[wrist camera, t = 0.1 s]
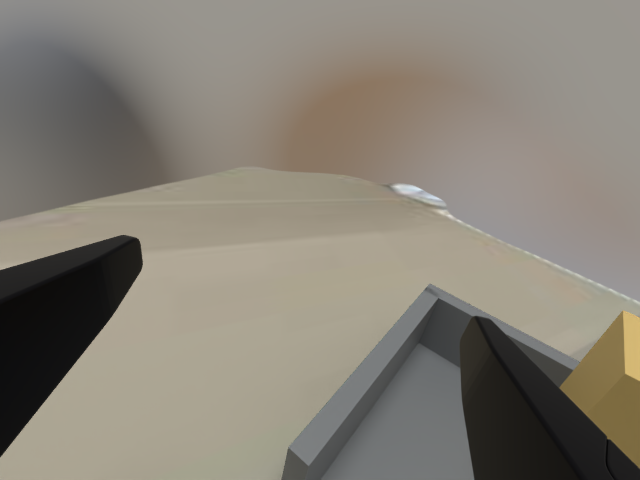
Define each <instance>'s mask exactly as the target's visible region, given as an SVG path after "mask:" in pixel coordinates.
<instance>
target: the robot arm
mask: <svg viewBox="0 0 640 480" xmlns="http://www.w3.org/2000/svg"><path fill="white" fill-rule="evenodd" d="M142 265H143V261H142V252H141V244H140V241H139V239H137V238H135V237H131V236H127V235H120V236H117V237H113V238H110V239H106V240H103V241H100V242H96V243H93V244H89V245H86V246H82V247H79V248H75V249H72V250H68V251H65V252H62V253H58V254H55V255H51V256H48V257H44V258H41V259H37V260H34V261H30V262H27V263H23V264H20V265H17V266H13V267H10V268H6V269H3V270H0V457H1V456H2V455H3V453H4V452H5V451H6V450H7V448H8V447H9V446H10V445H11V443H12V442H13V441H14V439H15V438H16V437H17V436H18V434H19V433H20V432H21V431H22V429H23V428H24V427H25V426H26V424H27V423H28V422H29V421H30V419H31V418H32V417H33V416H34V414H35V413H36V412H37V411H38V409H39V408H40V407H41V405H42V404H43V403H44V402H45V400H46V399H47V398H48V397H49V395H50V394H51V393H52V392H53V390H54V389H55V388H56V387H57V385H58V384H59V383H60V382H61V380H62V379H63V378H64V376H65V375H66V374H67V373H68V371H69V370H70V369H71V368H72V366H73V365H74V364H75V363H76V361H77V360H78V359H79V358H80V356H81V355H82V354H83V353H84V351H85V350H86V349H87V348H88V346H89V345H90V344H91V342H92V341H93V340H94V339H95V337H96V336H97V335H98V334H99V332H100V331H101V330H102V329H103V327H104V326H105V325H106V324H107V322H108V321H109V320H110V318H111V317H112V316H113V314H114V313H115V311H116V310H117V308H118V307H119V305H120V303H121V302H122V300H123V299H124V297H125V295H126V294H127V292H128V291H129V289H130V287H131V286H132V284H133V283H134V281H135V280H136V278H137V276H138V275H139V273H140V271H141V269H142ZM459 350H460V374H461V395H462V405H463V412H464V419H465V425H466V431H467V437H468V444H469V450H470V456H471V462H472V468H473V475H474V480H640V468H639V467H638V466H637V465H636V464H635V463H634V462H633V461H631V460H630V459H629V458H628V457H627V456H626V455H625V454H624V453H623V452H622V451H621V450H620V449H619V448H618V447H617V445H616V444H615V443H614V442H613V441H612V440H610V439H607V436H606V435H605V434H604V433H603V432H602V431H601V430H600V429H599V428H598V426H597V425H596V424H595V423H594V422H593V421H592V420H591V419H590V418H589V417H588V416H587V415H586V414H585V413H584V412H583V411H582V410H581V409H580V408H579V407H578V406H577V405H576V404H575V403H574V402H573V401H572V400H571V399H570V398H569V397H568V396H567V395H566V394H565V393H564V392H563V391H562V390H561V389H560V388H559V387H558V386H557V385H556V384H555V383H554V382H553V381H552V380H551V379H550V378H549V377H548V376H547V375H546V374H545V373H544V372H543V371H542V370H541V369H540V368H539V367H538V366H537V365H536V364H535V363H534V362H533V361H532V360H531V359H530V358H529V357H528V356H527V355H526V354H525V353H524V352H523V351H522V350H521V349H520V348H519V347H518V346H517V345H516V344H515V343H514V342H513V341H512V340H511V339H510V338H509V337H508V336H507V335H506V334H505V333H504V332H503V331H502V330H501V329H500V328H499V327H498V326H497V325H496V324H495V323H494V322H493V321H492V320H491V319H489V318H485V317H481V316H473V317H472V318H471V319H470V321H469V323H468V325H467V327H466V329H465V331H464V332H463V334H462V336H461V339H460V344H459Z"/></svg>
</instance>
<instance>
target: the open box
mask: <svg viewBox="0 0 640 480" xmlns="http://www.w3.org/2000/svg"><path fill="white" fill-rule="evenodd" d="M473 316H481V317H485V318H489V319H491V320H492V321H493V322H494V323H495V324H496V325H497V326H498V327H499V328H500V329H501V330H502V331H503V332H504V333H505V334H506V335H507V336H508V337H509V338H510V339H511V340H512V341H513V342H514V343H515V344H516V345H517V346H518V347H519V348H520V349H521V350H522V351H523V352H524V353H525V354H526V355H527V356H528V357H529V358H530V359H531V360H532V361H533V362H534V363H535V364H536V365H537V366H538V367H539V368H540V369H541V370H542V371H543V372H544V373H545V374H546V375H547V376H548V377H549V378H550V379H551V380H552V381H553V382H554V383H555V384H556V385H557V386H558V387H560V386H561V385H562V384H563V382H564V381H565V380H566V379H567V378H568V376H569V375H570V374H571V373H572V372H573V370H574V369H575V368H576V367H577V365H578V364H579V363H580V362H579V361H577V360H575V359H573V358H571V357H569V356H568V355H566V354H564V353H562V352H560V351H558V350H556V349H554V348H552V347H550V346H548V345H546V344H545V343H543V342H541V341H539V340H537V339H535V338H533V337H531V336H529V335H527V334H525V333H524V332H522V331H520V330H518V329H516V328H514V327H512V326H510V325H508V324H506V323H504V322H503V321H501V320H499V319H497V318H495V317H493V316H491V315H489V314H487V313H485V312H483V311H481V310H480V309H478V308H476V307H474V306H472V305H470V304H468V303H466V302H464V301H462V300H460V299H459V298H457V297H455V296H453V295H451V294H449V293H447V292H445V291H443V290H441V289H439V288H438V287H436V286H434V285H432V284H429V285H428V286H427V287H426V289H425V290H424V291H423V292H422V293H421V294H420V295H419V297H418V298H417V299H416V300H415V301H414V302H413V304H412V305H411V306H410V307H409V308H408V309H407V311H406V312H405V313H404V314H403V315H402V316H401V318H400V319H399V320H398V321H397V322H396V323H395V324H394V326H393V327H392V328H391V329H390V330H389V331H388V333H387V334H386V335H385V336H384V337H383V338H382V340H381V341H380V342H379V343H378V344H377V345H376V346H375V348H374V349H373V350H372V351H371V352H370V353H369V355H368V356H367V357H366V358H365V359H364V360H363V362H362V363H361V364H360V365H359V366H358V367H357V369H356V370H355V371H354V372H353V373H352V374H351V375H350V377H349V378H348V379H347V380H346V381H345V382H344V384H343V385H342V386H341V387H340V388H339V389H338V391H337V392H336V393H335V394H334V395H333V396H332V398H331V399H330V400H329V401H328V402H327V403H326V404H325V406H324V407H323V408H322V409H321V410H320V411H319V413H318V414H317V415H316V416H315V417H314V418H313V420H312V421H311V422H310V423H309V424H308V425H307V426H306V428H305V429H304V430H303V431H302V432H301V433H300V435H299V436H298V437H297V438H296V439H295V440H294V442H293V443H292V444H291V445H290V446H289V447H288V452H287V456H286V461H285V466H284V471H283V475H282V480H474V475H473V468H472V462H471V456H470V450H469V444H468V437H467V431H466V425H465V419H464V412H463V405H462V395H461V374H460V350H459V344H460V339H461V336H462V334H463V332H464V331H465V329H466V327H467V325H468V323H469V321H470V319H471V318H472V317H473Z"/></svg>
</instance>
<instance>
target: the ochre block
mask: <svg viewBox="0 0 640 480" xmlns="http://www.w3.org/2000/svg"><path fill="white" fill-rule="evenodd" d="M559 388H560V389H561V390H562V391H563V392H564V393H565V394H566V395H567V396H568V397H569V398H570V399H571V400H572V401H573V402H574V403H575V404H576V405H577V406H578V407H579V408H580V409H581V410H582V411H583V412H584V413H585V414H586V415H587V416H588V417H589V418H590V419H591V420H592V421H593V422H594V423H595V424H596V425H597V426H598V428H599V429H600V430H601V431H602V432H603V433H604V434H605V435H606V436H607V439H610V440H612V441H613V442H614V443H615V444H616V445H617V447H618V448H619V449H620V450H621V451H622V452H623V453H624V454H625V455H626V456H627V457H628V458H629V459H630V460H631V461H633V462H634V463H635V464H636V465H637V466H638V467H639V468H640V318H639V317H637V316H635V315H633V314H630V313H628V312H626V311H624V310H623V311H622V312H621V313H620V315H619V316H618V317H617V318H616V319H615V321H614V322H613V323H612V324H611V326H610V327H609V328H608V329H607V330H606V332H605V333H604V334H603V335H602V336H601V338H600V339H599V340H598V341H597V342H596V344H595V345H594V346H593V347H592V349H591V350H590V351H589V352H588V353H587V355H586V356H585V357H584V358H583V359H582V361H581V362H580V363H579V364H578V365H577V367H576V368H575V369H574V370H573V372H572V373H571V374H570V375H569V376H568V378H567V379H566V380H565V381H564V382H563V384H562V385H561V386H560V387H559Z"/></svg>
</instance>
